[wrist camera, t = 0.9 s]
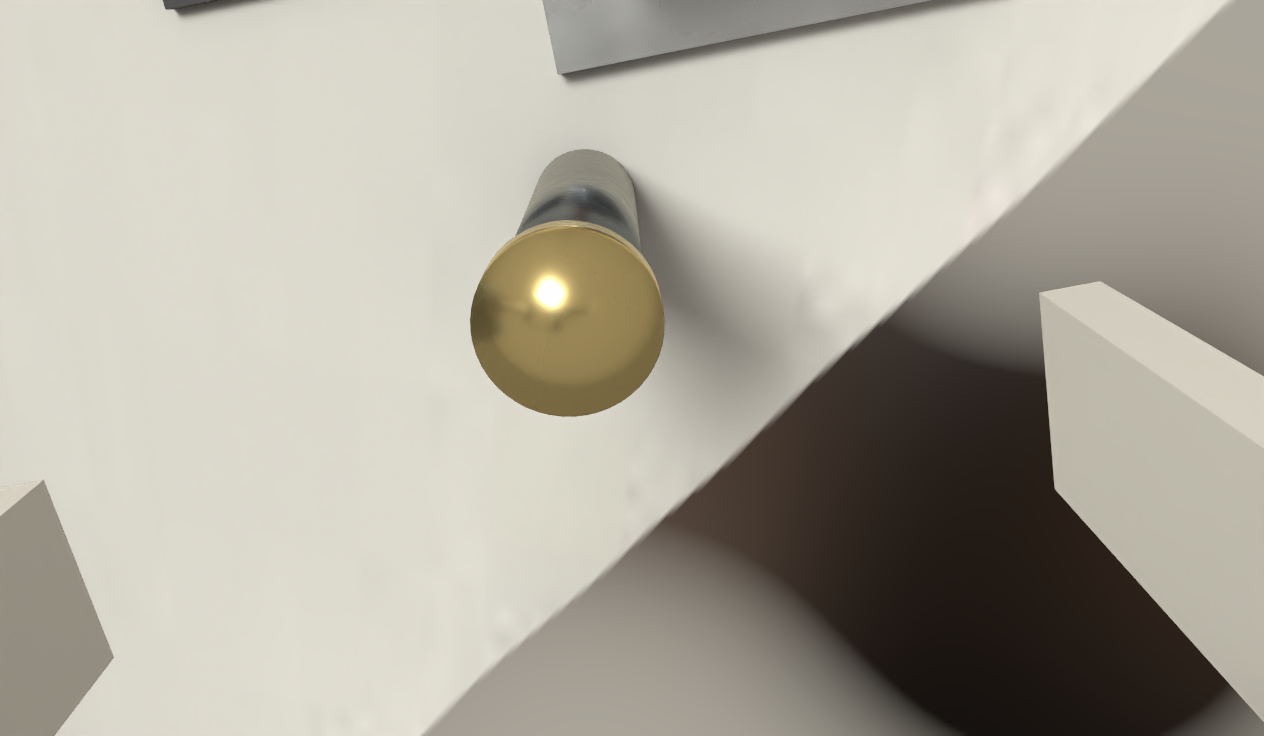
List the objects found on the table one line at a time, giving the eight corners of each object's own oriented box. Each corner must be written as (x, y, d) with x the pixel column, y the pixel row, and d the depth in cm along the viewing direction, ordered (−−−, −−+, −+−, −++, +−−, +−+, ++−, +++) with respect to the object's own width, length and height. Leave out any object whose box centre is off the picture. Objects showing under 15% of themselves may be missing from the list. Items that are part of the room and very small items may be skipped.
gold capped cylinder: (539, 268, 36) (494, 431, 22) (514, 152, 35) (450, 250, 21) (654, 246, 36) (679, 397, 22) (632, 129, 35) (645, 213, 21)
